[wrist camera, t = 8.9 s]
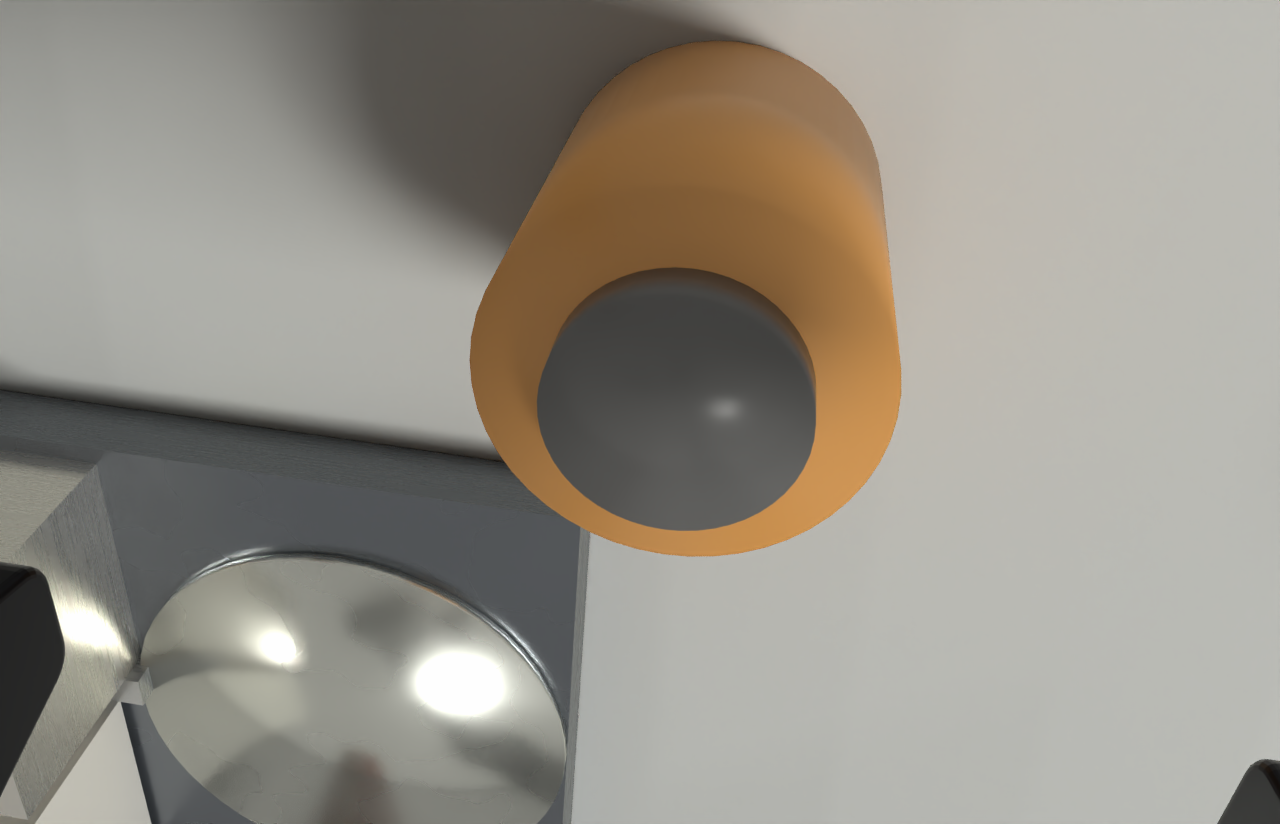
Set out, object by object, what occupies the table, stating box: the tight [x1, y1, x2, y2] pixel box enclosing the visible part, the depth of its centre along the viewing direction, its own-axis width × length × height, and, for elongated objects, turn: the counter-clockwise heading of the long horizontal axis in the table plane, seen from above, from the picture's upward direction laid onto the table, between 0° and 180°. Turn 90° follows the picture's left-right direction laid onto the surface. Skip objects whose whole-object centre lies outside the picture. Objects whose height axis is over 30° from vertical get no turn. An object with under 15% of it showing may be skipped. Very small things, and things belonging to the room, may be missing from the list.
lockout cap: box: [470, 41, 901, 556], centre depth 14 cm, size 4×4×6 cm
